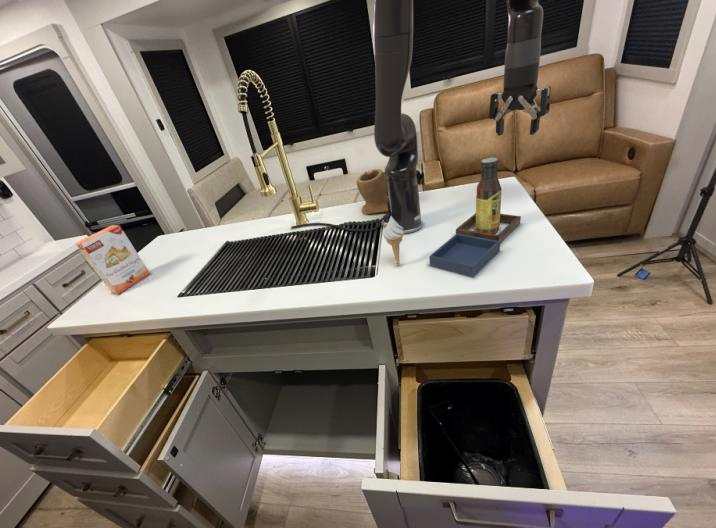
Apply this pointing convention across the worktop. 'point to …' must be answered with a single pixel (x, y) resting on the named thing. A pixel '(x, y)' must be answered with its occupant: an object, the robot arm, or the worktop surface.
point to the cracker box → (113, 258)
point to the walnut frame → (504, 218)
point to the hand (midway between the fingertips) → (516, 134)
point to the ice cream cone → (394, 237)
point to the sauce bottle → (488, 198)
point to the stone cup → (373, 191)
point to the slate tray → (465, 254)
